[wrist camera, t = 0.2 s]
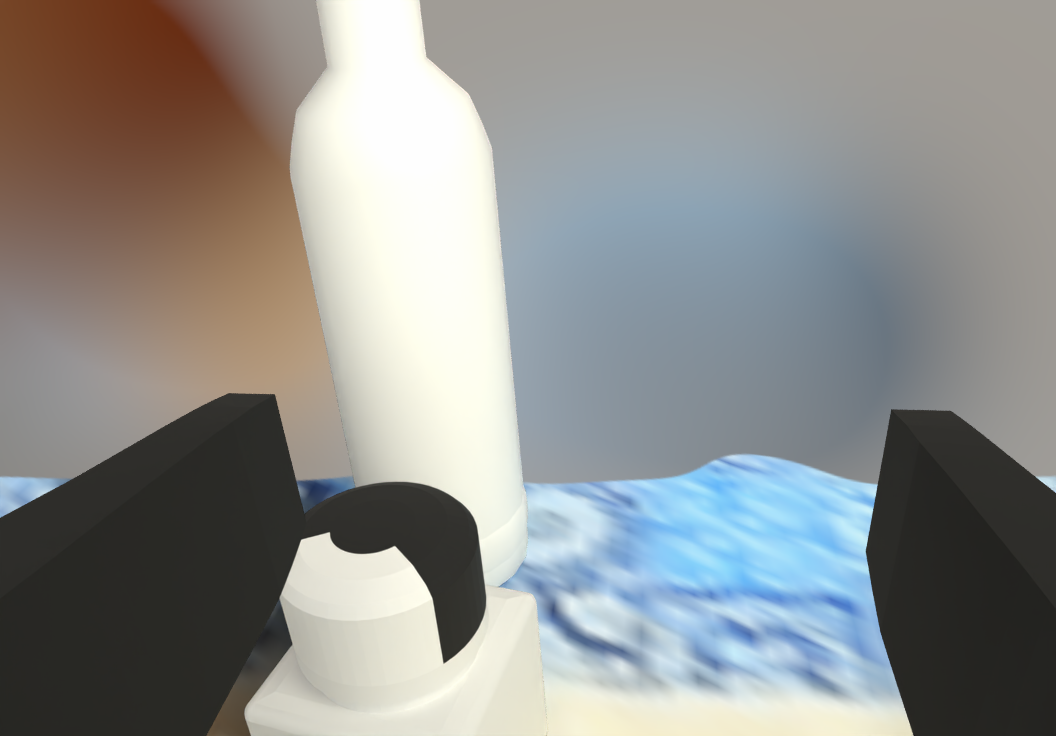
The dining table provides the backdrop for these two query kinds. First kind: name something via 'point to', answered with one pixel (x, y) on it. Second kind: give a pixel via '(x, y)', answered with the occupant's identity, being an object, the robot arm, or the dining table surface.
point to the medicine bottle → (400, 627)
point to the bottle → (410, 270)
